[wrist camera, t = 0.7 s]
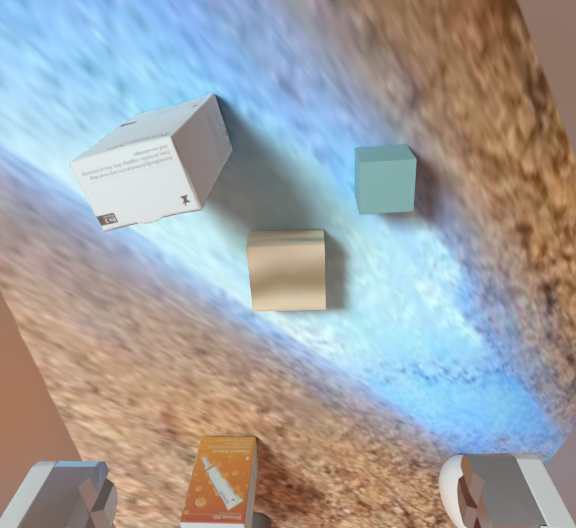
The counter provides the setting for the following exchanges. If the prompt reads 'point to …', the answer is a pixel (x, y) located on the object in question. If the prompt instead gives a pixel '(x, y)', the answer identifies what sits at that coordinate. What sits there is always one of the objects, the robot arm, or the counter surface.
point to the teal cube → (385, 179)
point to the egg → (451, 488)
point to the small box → (222, 484)
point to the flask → (260, 521)
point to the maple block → (287, 270)
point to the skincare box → (155, 164)
